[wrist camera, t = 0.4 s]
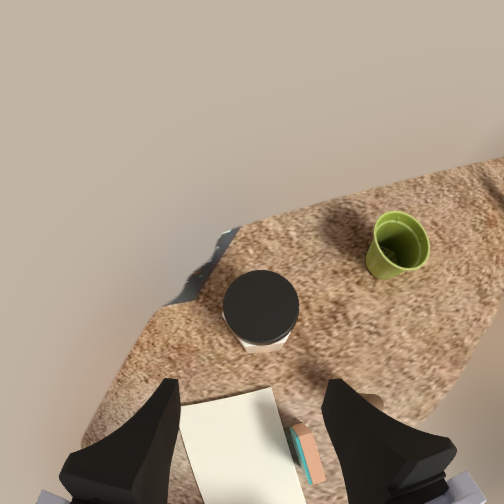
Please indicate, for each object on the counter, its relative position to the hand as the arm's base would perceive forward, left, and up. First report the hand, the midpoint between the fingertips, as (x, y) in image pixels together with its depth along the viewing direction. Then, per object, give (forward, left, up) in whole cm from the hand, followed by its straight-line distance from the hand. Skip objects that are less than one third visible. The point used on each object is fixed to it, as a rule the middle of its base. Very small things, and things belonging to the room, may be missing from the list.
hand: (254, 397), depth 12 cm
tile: (-11, -4, -28) cm, 30 cm away
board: (-11, +5, -28) cm, 30 cm away
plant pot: (+12, -25, -28) cm, 39 cm away
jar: (+8, -3, -28) cm, 29 cm away
